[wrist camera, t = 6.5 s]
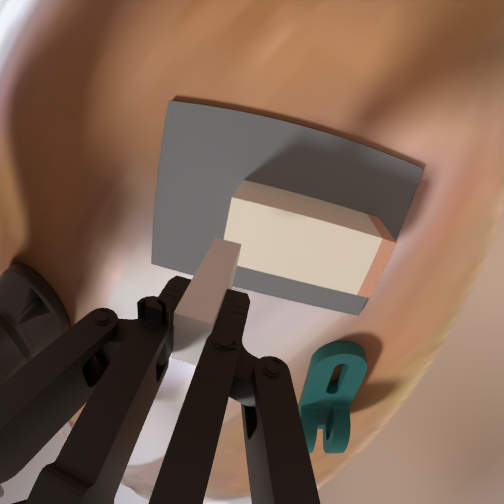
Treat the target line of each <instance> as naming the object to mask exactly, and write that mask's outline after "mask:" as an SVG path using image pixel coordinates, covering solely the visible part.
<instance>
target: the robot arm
mask: <svg viewBox="0 0 504 504" xmlns="http://www.w3.org/2000/svg"><path fill="white" fill-rule="evenodd" d="M241 245H242V244H239V243H235V242H231V241H227V240H223V239H219V238H215V239H214V241H213V243H212V245H211V246H210V248H209V250H208V252H207V253H206V255H205V257H204V259H203V261H202V262H201V264H200V266H199V268H198V269H197V271H196V273H195V275H194V277H193V278H192V280H191V279H187V278H184V277H180V276H175V277H174V278H172V279H170V280H169V281H168V283H167V284H166V286H165V288H164V289H163V290H162V292H161V293H160V295H159V297H155V296H149V297H145V298H142V299H141V300H139V301H138V302H137V307H138V319H134V320H128V319H118V317H117V314H116V313H115V312H114V311H113V310H110V309H108V308H98V309H95V310H93V311H91V312H90V313H89V314H87V315H86V316H85V317H83V318H82V319H81V320H80V321H78V322H77V323H76V324H74V325H73V326H72V327H71V328H70V324H69V320H68V317H67V314H66V312H65V309H64V307H63V305H62V304H61V302H60V300H59V298H58V297H57V295H56V294H55V292H54V291H53V290H52V288H51V287H50V286H49V285H48V284H47V282H46V281H45V280H44V279H43V278H42V277H41V276H40V275H39V274H38V273H36V272H35V271H34V270H33V269H31V268H29V267H28V266H26V265H23V264H20V263H15V264H13V265H11V266H10V267H9V268H8V269H6V270H5V271H4V272H3V273H2V275H1V277H0V484H1V483H3V482H5V481H8V480H9V479H10V478H12V477H14V476H15V475H16V474H17V473H18V472H19V471H21V470H22V469H23V468H24V467H25V465H26V464H27V463H28V462H29V461H30V460H31V459H32V458H33V457H34V456H35V455H36V454H37V453H38V452H39V451H40V450H41V449H42V447H44V446H45V444H46V443H47V442H48V441H49V440H50V439H51V438H52V437H53V436H54V435H55V434H56V433H57V432H58V431H59V430H60V429H61V428H62V427H63V426H64V425H65V424H66V423H67V422H68V421H69V420H70V419H71V418H72V416H73V415H74V414H75V413H76V412H77V411H78V410H79V409H80V408H81V407H82V406H83V405H84V404H85V403H86V402H87V403H86V405H85V407H84V408H83V410H82V412H81V414H80V416H79V417H78V419H77V421H76V423H75V425H74V427H73V428H72V430H71V432H70V434H69V436H68V438H67V440H66V442H65V444H64V446H63V447H62V449H61V451H60V453H59V456H58V457H57V459H56V461H55V462H53V463H51V464H48V465H46V466H45V467H44V468H43V469H42V470H41V472H40V474H39V476H38V478H37V480H36V482H35V484H34V486H33V488H32V491H31V493H30V495H29V497H28V499H27V500H23V501H20V502H16V503H13V504H114V498H115V495H116V492H117V490H118V487H119V485H120V482H121V479H122V477H123V474H124V472H125V469H126V467H127V464H128V462H129V459H130V456H131V454H132V452H133V449H134V447H135V444H136V442H137V439H138V437H139V434H140V432H141V430H142V427H143V425H144V422H145V420H146V418H147V415H148V413H149V410H150V408H151V406H152V403H153V401H154V399H155V396H156V394H157V392H158V389H159V387H160V385H161V382H162V380H163V378H164V375H165V373H166V371H167V368H168V364H169V357H170V355H171V353H172V358H174V359H177V360H180V361H184V362H187V363H190V364H194V365H197V367H196V369H195V372H194V375H193V378H192V380H191V383H190V386H189V389H188V392H187V394H186V397H185V400H184V403H183V406H182V409H181V411H180V414H179V417H178V420H177V423H176V426H175V428H174V431H173V434H172V437H171V440H170V443H169V446H168V448H167V451H166V454H165V457H164V460H163V463H162V466H161V469H160V472H159V475H158V477H157V480H156V483H155V486H154V489H153V492H152V495H151V498H150V501H149V504H203V500H204V496H205V492H206V488H207V484H208V480H209V476H210V472H211V468H212V464H213V460H214V456H215V452H216V448H217V443H218V439H219V435H220V431H221V427H222V423H223V419H224V414H225V410H226V406H227V402H228V398H229V397H231V398H233V399H234V400H236V401H238V402H240V403H241V408H242V419H243V428H244V438H245V447H246V456H247V465H248V474H249V483H250V491H251V499H252V504H320V500H319V496H318V491H317V487H316V482H315V478H314V473H313V469H312V465H311V460H310V456H309V452H308V447H307V443H306V439H305V434H304V430H303V426H302V421H301V417H300V413H299V409H298V404H297V400H296V396H295V392H294V387H293V383H292V379H291V375H290V371H289V368H288V366H287V364H286V363H285V362H283V361H282V360H281V359H279V358H277V357H272V356H266V357H262V358H260V359H259V358H257V357H255V356H253V355H251V354H250V353H248V352H247V351H246V350H245V348H244V346H243V344H242V336H243V332H244V327H245V323H246V318H247V314H248V310H249V305H250V299H249V297H248V294H246V293H242V292H238V291H234V290H231V288H232V285H233V281H234V277H235V272H236V268H237V263H238V259H239V254H240V250H241ZM3 494H4V491H3V488H2V486H1V485H0V497H2V496H3Z"/></svg>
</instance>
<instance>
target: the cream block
mask: <svg viewBox="0 0 504 504" xmlns="http://www.w3.org/2000/svg"><path fill="white" fill-rule="evenodd" d="M224 240H227V241H231V242H235V243H239V244H242V245H241V250H240V254H239V259H238V263H237V266H241V267H245V268H249V269H252V270H256V271H260V272H264V273H268V274H272V275H276V276H280V277H284V278H288V279H292V280H296V281H300V282H305V283H309V284H313V285H317V286H321V287H325V288H329V289H333V290H337V291H342V292H346V293H350V294H354V295H358V296H363V297H367V298H370V297H371V295H372V293H373V292H374V290H375V288H376V286H377V284H378V282H379V280H380V278H381V276H382V274H383V271H384V269H385V267H386V265H387V263H388V261H389V259H390V257H391V254H392V252H393V250H394V248H395V246H396V241H395V240H394V238H393V237H392V236H391V234H390V233H389V231H388V230H387V228H386V227H385V226H384V224H383V223H382V222H381V220H380V219H379V218H378V217H375V216H372V215H369V214H365V213H362V212H359V211H356V210H353V209H349V208H346V207H343V206H340V205H336V204H333V203H329V202H326V201H323V200H319V199H316V198H312V197H308V196H305V195H301V194H298V193H294V192H290V191H286V190H283V189H279V188H275V187H271V186H267V185H263V184H259V183H255V182H251V181H246V180H243V181H242V183H241V184H240V186H239V187H238V189H237V190H236V192H235V193H234V195H233V196H232V199H231V204H230V209H229V214H228V219H227V224H226V229H225V234H224Z"/></svg>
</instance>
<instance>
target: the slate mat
mask: <svg viewBox="0 0 504 504" xmlns="http://www.w3.org/2000/svg"><path fill="white" fill-rule="evenodd" d="M422 171H423V169H422V168H420V167H418V166H416V165H414V164H411V163H409V162H407V161H404V160H402V159H399V158H397V157H394V156H392V155H389V154H387V153H384V152H381V151H379V150H376V149H373V148H371V147H368V146H365V145H362V144H360V143H357V142H354V141H351V140H348V139H345V138H342V137H339V136H335V135H332V134H329V133H326V132H322V131H319V130H316V129H312V128H309V127H305V126H301V125H298V124H294V123H290V122H286V121H282V120H278V119H274V118H269V117H265V116H261V115H256V114H251V113H246V112H241V111H236V110H231V109H225V108H220V107H214V106H207V105H201V104H194V103H186V102H178V101H169V103H168V108H167V114H166V120H165V126H164V133H163V139H162V146H161V154H160V161H159V170H158V179H157V188H156V198H155V210H154V223H153V239H152V261H151V264H154V265H158V266H161V267H165V268H168V269H172V270H176V271H179V272H183V273H186V274H190V275H195V273H196V271H197V269H198V268H199V266H200V264H201V262H202V261H203V259H204V257H205V255H206V253H207V252H208V250H209V248H210V246H211V245H212V243H213V241H214V239H215V238H219V239H223V240H224V234H225V229H226V224H227V219H228V214H229V209H230V204H231V199H232V196H233V195H234V193H235V192H236V190H237V189H238V187H239V186H240V184H241V183H242V181H243V180H246V181H251V182H255V183H259V184H263V185H267V186H271V187H275V188H279V189H283V190H286V191H290V192H294V193H298V194H301V195H305V196H308V197H312V198H316V199H319V200H323V201H326V202H329V203H333V204H336V205H340V206H343V207H346V208H349V209H353V210H356V211H359V212H362V213H365V214H369V215H372V216H375V217H378V218H379V219H380V220H381V222H382V223H383V224H384V226H385V227H386V228H387V230H388V231H389V233H390V234H391V236H392V237H393V238H394V240H395V241H396V238H397V236H398V234H399V231H400V229H401V227H402V224H403V222H404V219H405V217H406V214H407V212H408V209H409V207H410V204H411V201H412V199H413V196H414V194H415V191H416V188H417V185H418V182H419V180H420V177H421V174H422ZM232 286H235V287H239V288H243V289H247V290H251V291H255V292H258V293H263V294H267V295H271V296H275V297H279V298H283V299H287V300H291V301H295V302H300V303H304V304H308V305H313V306H317V307H321V308H326V309H330V310H335V311H339V312H344V313H348V314H353V315H358V316H359V314H360V312H361V310H362V309H363V307H364V305H365V303H366V301H367V299H368V298H367V297H363V296H358V295H354V294H350V293H346V292H342V291H337V290H333V289H329V288H325V287H321V286H317V285H313V284H309V283H305V282H300V281H296V280H292V279H288V278H284V277H280V276H276V275H272V274H268V273H264V272H260V271H256V270H252V269H249V268H245V267H241V266H237V268H236V272H235V277H234V281H233V285H232Z"/></svg>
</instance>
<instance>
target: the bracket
mask: <svg viewBox="0 0 504 504" xmlns="http://www.w3.org/2000/svg"><path fill="white" fill-rule="evenodd" d="M339 364H343V366H342V369H341V371H340V374H339V376H338V379H337V380H336V381H333V382H329V381H330V378H331V376H332V373H333V370H334V368H335V366H337V365H339ZM367 369H368V366H367V361H366V356H365V352H364V350H363V348H362V347H361V346H359V345H358V344H356V343H353V342H349V341H337V342H332V343H329V344H326V345H324V346H322V347H321V348H319V349H318V350H317V351H316V352H315V353H314V354H313V356H312V358H311V362H310V366H309V369H308V373H307V377H306V380H305V384H304V387H303V391H302V394H301V398H300V401H299V405H298V409H299V413H300V417H301V421H302V426H303V430H304V434H305V439H306V443H307V447H308V452H309V453H312V451H313V449H314V446H315V442H316V436H317V429H323V447H324V451H325V453H343V452H344V451H345V450H346V448H347V445H348V442H349V437H350V413H349V407H350V405H351V403H352V401H353V399H354V397H355V395H356V393H357V391H358V389H359V387H360V385H361V383H362V381H363V379H364V377H365V375H366V373H367Z"/></svg>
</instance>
